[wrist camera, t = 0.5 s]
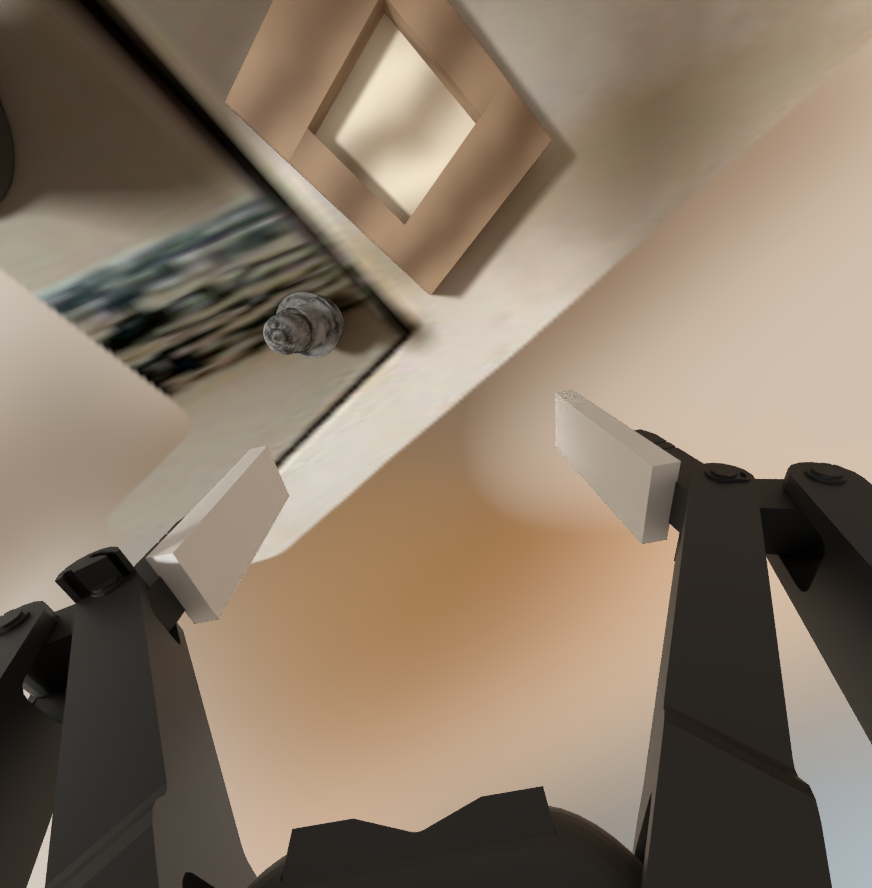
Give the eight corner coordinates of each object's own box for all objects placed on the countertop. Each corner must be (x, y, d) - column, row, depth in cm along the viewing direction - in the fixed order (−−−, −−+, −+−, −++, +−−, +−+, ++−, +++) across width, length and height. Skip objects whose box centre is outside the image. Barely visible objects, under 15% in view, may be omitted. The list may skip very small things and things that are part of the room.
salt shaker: (340, 288, 33) (304, 289, 22) (352, 348, 36) (325, 375, 25) (281, 294, 33) (216, 297, 22) (297, 354, 36) (245, 383, 25)
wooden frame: (244, 121, 28) (224, 102, 25) (349, -89, 23) (340, -143, 20) (429, 294, 34) (430, 295, 31) (538, 154, 30) (551, 139, 27)
